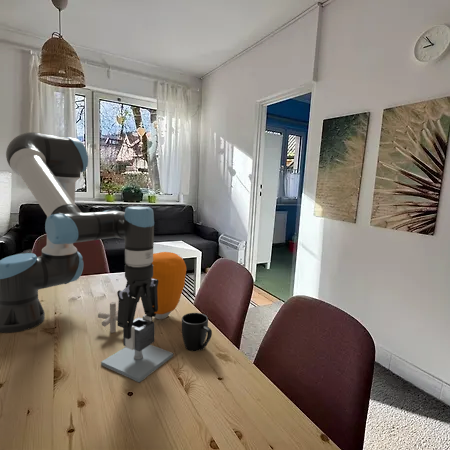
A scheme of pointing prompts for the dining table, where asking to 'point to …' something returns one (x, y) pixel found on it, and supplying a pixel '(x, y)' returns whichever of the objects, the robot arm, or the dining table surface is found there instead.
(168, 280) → the orange egg-shaped ornament
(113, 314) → the light grey toy jack
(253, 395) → the dining table surface
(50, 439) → the dining table surface
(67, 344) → the dining table surface
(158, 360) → the post block
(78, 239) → the robot arm
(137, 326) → the collar
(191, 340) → the mug
